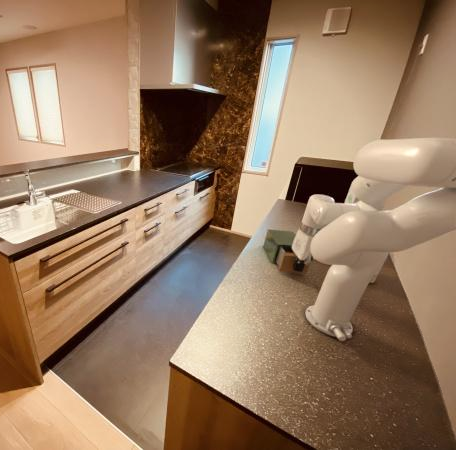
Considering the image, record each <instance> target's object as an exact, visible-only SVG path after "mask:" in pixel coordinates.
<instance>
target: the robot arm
mask: <svg viewBox="0 0 456 450" xmlns="http://www.w3.org/2000/svg"><path fill="white" fill-rule="evenodd" d="M352 165H353V167H352V168H353V169H354V172H355V174H356V175H357V176H356V177H355V178H354V179H353V181H351V184H352V185H351V184H350V187H351V189H352V192H353V194H354V195H355V196H356V197H357V198H358V199H359V200H360V201H359V202H357V203H355V204H346V203H345V202H344V203H343V202H336V201H335V199H334V198H333V197H331V196H329V195H325V194H316V193H315V194H313V195H311V196H309V199H308V201H307V204H306V208H305V211H304V214H303V217H302V220H301V223H300V225H299V228H298V229H297V232H296V233H295V235H296V236H295V239H294V241H293V244H292V250H293V251H294V253H295V254H296V257H295V262H294V265H293V270H294V271H297V272H302V271H303V269H304V266H305V265H309V266H310V265H311V262H314V261H316V262H318V263H320V264H323V265H328V266H329V265H330V267H329V268H328V270H327V272H326V275H325V277H324V279H323V282H322V284H321V287H320V289H319V292H318V295H317V298H316V300H315V302H314V304H313V305H309V306H308V307H306V310H305V311H304V312H305V313H304V314H305V318H306V320H307V321H308V322H309V324H310V325H312V326H313V327H314V328H315V329H317V330H318V331H320V332H321V333H323V334H326V335H328V336H331V337H335V338H337V339H338V341H340V342H344V341H346V340H347V339H351V338H352V337H353V335H352V334H353V330H354V328H353V325H352V323H351V320H352V318H353V316H354V314H355V311H356V309H357V307H358V305H359V304H360V301H361V300H362V298H363V295H364V293H365V291H366V289H367V287H368V286H369V284H370V283H369V282H370V280H371V278H372V277H373V275H374V274H375V273H376V271H377V270H378V269H379V268H380V267H381V266H382V264H383V263H384V264H385V262H386V260H387V259H388V256H389V254H390V253H398V252H399V253H400V252H403V251H406V250H408V249H411V248H414V247H416V246H418V245H421V244H423V243H424V244H425V243H426V242H429V241H431V240H433V239H437V238H439V237H441V236H444V235H445V234H448V233H450V232H453V231H455V230H456V138H447V137H415V138H413V137H412V138H394V139H376V140H372V141H371V142H369V143H367V144H365V145H363V147H361V148H360V150H358V152H357V153H356V155H355V157H354V159H353V164H352ZM408 186H412V187H422V188H425V187H426V188H438V189H435V190H432V191H429V192H426V193H423V194H421V195H418V196H416V197H414V198H412V199H410V200H409V201H407V202H405V203H403V204H401V205H399V206H398V207H395V208H393V209H390V210H389V209H388V210H383V209H384V206H385V204H386V203H385V200H387V199H389V198H390V197H392V196H394V195H395V194H396V193H398V192H400V191H402V190H403V189H405V188H406V187H408ZM314 259H316V260H314ZM384 264H383V265H384ZM382 267H383V266H382Z"/></svg>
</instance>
